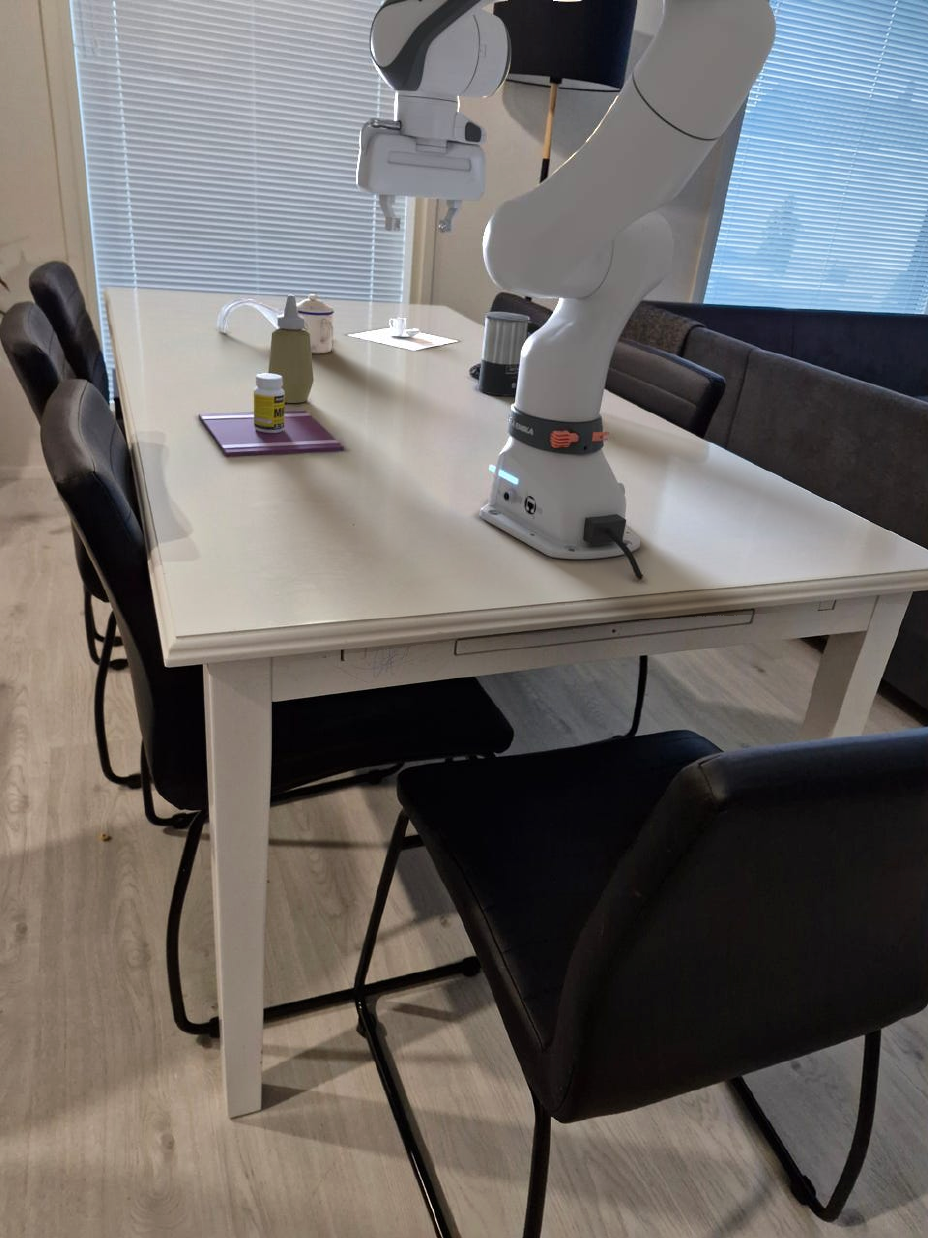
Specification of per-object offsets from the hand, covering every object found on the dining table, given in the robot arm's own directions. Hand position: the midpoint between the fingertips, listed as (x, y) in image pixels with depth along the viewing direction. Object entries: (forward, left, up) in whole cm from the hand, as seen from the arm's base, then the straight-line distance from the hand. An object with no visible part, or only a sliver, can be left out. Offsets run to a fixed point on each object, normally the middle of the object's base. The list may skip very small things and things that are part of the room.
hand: (419, 232), depth 128 cm
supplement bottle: (+7, +21, -31) cm, 38 cm away
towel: (+7, +21, -31) cm, 38 cm away
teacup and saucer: (+79, -32, -32) cm, 90 cm away
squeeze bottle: (+26, +12, -32) cm, 42 cm away
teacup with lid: (+65, -5, -32) cm, 72 cm away
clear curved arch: (+86, 0, -32) cm, 91 cm away
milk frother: (+33, -33, -32) cm, 56 cm away
